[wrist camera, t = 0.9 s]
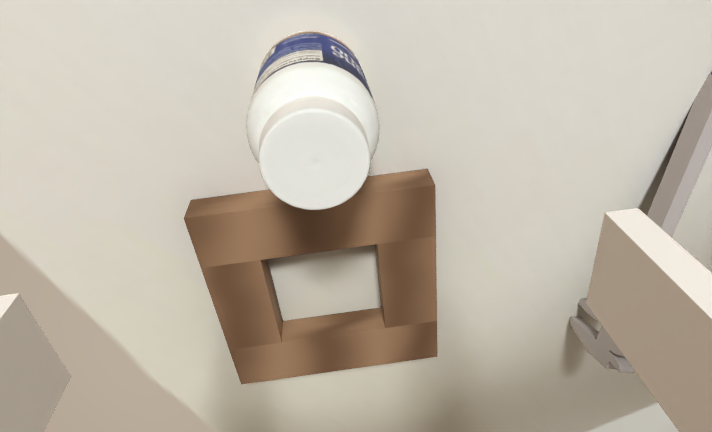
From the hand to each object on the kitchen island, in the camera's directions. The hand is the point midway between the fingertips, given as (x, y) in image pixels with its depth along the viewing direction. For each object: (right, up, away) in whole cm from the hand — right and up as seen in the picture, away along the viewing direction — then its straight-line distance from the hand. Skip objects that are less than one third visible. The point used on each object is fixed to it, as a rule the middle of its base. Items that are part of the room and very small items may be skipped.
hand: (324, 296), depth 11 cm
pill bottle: (-2, +9, +14) cm, 17 cm away
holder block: (-1, -2, +21) cm, 21 cm away
